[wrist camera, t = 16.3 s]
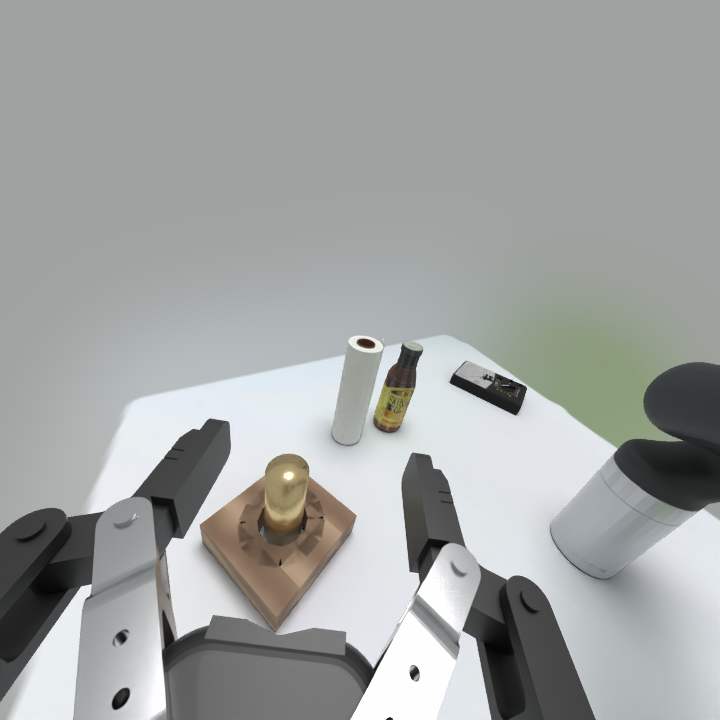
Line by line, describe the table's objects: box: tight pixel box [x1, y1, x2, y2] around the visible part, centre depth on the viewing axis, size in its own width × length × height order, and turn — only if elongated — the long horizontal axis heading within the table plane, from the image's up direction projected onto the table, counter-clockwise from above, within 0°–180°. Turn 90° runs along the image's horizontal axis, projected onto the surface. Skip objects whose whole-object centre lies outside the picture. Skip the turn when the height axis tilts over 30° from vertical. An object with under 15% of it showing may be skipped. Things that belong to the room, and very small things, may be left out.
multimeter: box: [450, 361, 527, 415], centre depth 83 cm, size 13×19×5 cm
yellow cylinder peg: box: [264, 454, 309, 546], centre depth 35 cm, size 5×5×14 cm
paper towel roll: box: [332, 336, 384, 445], centre depth 52 cm, size 7×6×21 cm
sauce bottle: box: [374, 341, 423, 432], centre depth 58 cm, size 7×6×20 cm
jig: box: [200, 476, 357, 632], centre depth 38 cm, size 14×14×4 cm
